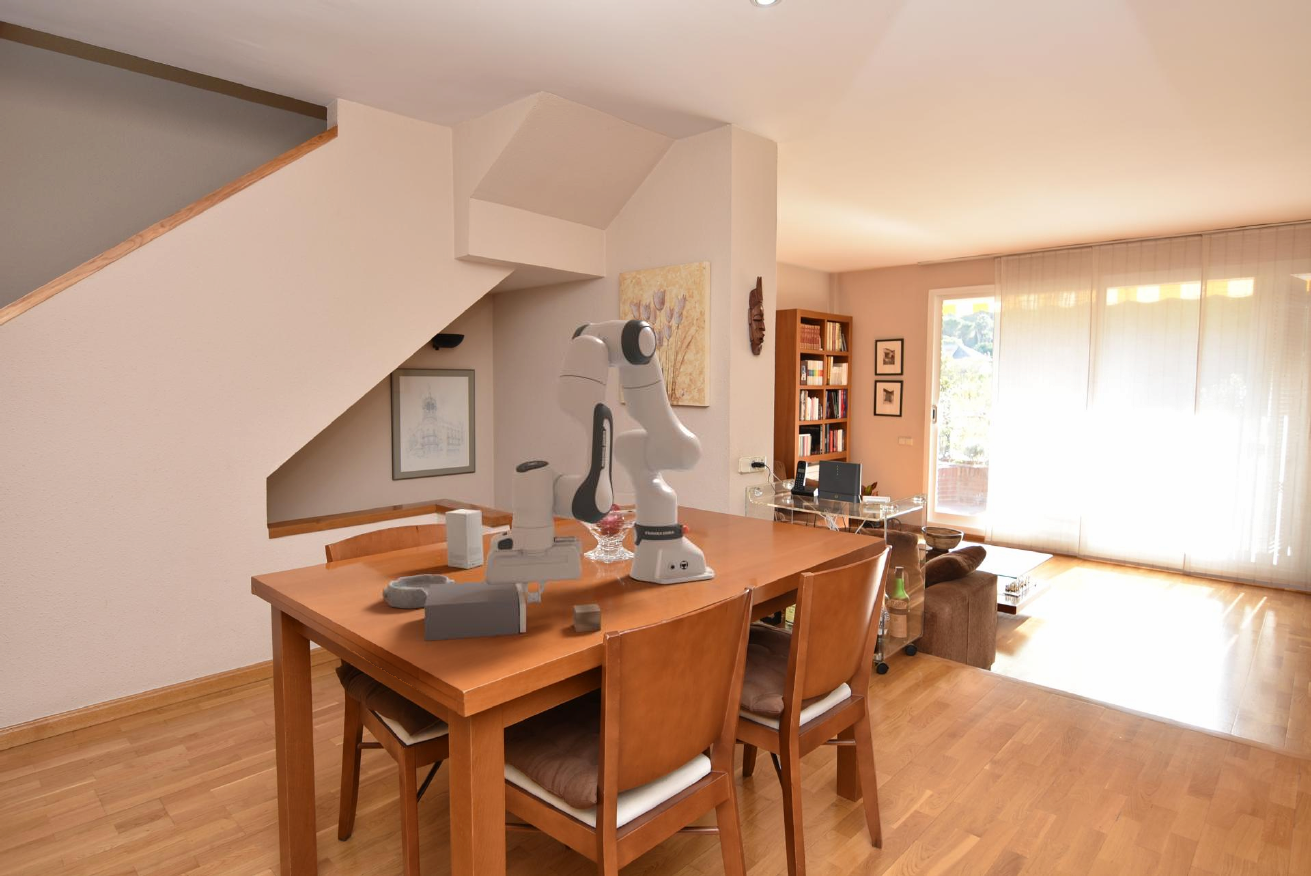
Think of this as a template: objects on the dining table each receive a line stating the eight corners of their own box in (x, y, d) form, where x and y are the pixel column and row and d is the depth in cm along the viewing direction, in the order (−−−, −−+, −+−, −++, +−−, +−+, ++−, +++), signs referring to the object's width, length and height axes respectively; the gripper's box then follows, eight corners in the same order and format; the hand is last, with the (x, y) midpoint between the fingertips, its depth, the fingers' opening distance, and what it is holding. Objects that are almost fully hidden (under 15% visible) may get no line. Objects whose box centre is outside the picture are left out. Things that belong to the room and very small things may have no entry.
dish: (459, 595, 172) (459, 575, 172) (429, 612, 159) (428, 590, 159) (406, 591, 176) (405, 571, 175) (371, 608, 162) (371, 586, 162)
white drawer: (523, 609, 160) (523, 583, 160) (527, 631, 145) (527, 603, 145) (438, 615, 156) (437, 588, 155) (433, 638, 141) (432, 609, 140)
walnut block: (597, 622, 152) (597, 604, 151) (600, 630, 147) (600, 610, 146) (573, 624, 150) (573, 605, 150) (576, 631, 146) (576, 612, 145)
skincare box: (484, 565, 202) (483, 510, 201) (466, 570, 197) (465, 513, 196) (463, 561, 207) (462, 508, 206) (445, 566, 201) (444, 511, 200)
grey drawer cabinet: (515, 610, 160) (514, 579, 159) (518, 633, 144) (518, 599, 144) (431, 616, 156) (430, 584, 155) (425, 640, 140) (424, 605, 140)
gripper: (580, 532, 157) (580, 594, 158) (484, 537, 153) (485, 601, 153) (583, 538, 151) (584, 602, 152) (484, 543, 146) (485, 609, 147)
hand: (533, 602), depth 153 cm, fingers closed
